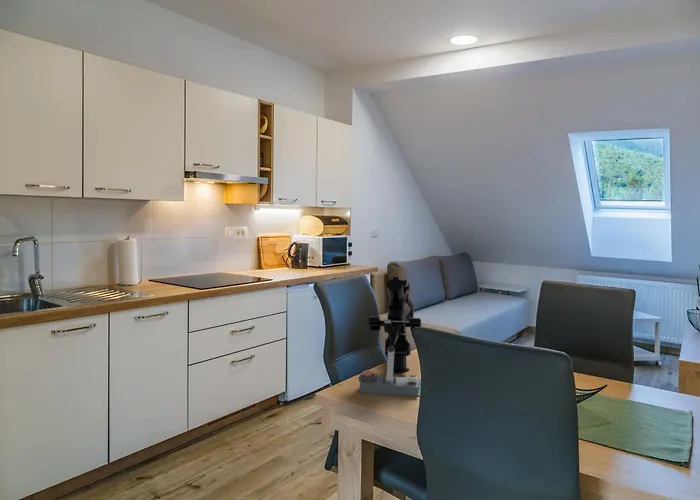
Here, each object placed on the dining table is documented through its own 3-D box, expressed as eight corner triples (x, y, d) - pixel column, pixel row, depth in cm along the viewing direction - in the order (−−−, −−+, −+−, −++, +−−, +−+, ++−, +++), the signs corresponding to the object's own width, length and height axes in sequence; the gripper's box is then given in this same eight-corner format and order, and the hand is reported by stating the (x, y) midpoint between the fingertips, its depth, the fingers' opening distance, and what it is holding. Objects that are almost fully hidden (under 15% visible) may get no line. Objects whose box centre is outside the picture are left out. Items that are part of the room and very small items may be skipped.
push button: (364, 374, 174) (364, 369, 174) (373, 374, 174) (373, 370, 173) (362, 377, 171) (362, 372, 171) (371, 377, 170) (371, 373, 170)
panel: (362, 383, 178) (362, 369, 177) (419, 387, 173) (419, 373, 173) (357, 392, 169) (357, 378, 168) (417, 396, 165) (417, 381, 164)
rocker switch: (409, 379, 172) (409, 374, 172) (417, 379, 171) (417, 375, 171) (407, 381, 167) (407, 377, 168) (416, 382, 167) (416, 377, 167)
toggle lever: (386, 380, 170) (388, 346, 175) (393, 381, 170) (395, 346, 174) (385, 379, 168) (387, 344, 173) (392, 380, 168) (394, 345, 172)
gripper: (423, 320, 191) (420, 358, 181) (373, 318, 195) (368, 355, 185) (421, 303, 183) (419, 341, 173) (370, 302, 186) (364, 339, 177)
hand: (392, 345), depth 177 cm, fingers closed
